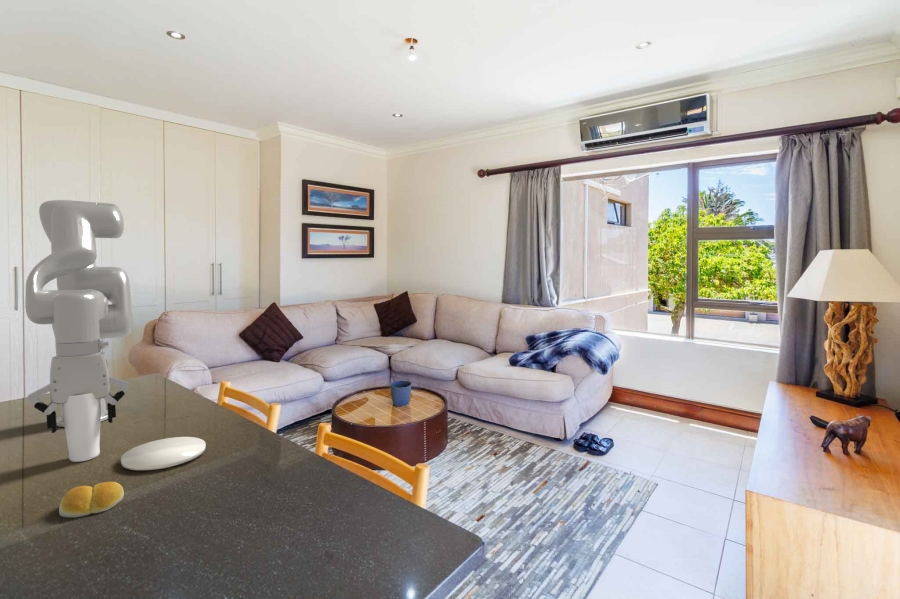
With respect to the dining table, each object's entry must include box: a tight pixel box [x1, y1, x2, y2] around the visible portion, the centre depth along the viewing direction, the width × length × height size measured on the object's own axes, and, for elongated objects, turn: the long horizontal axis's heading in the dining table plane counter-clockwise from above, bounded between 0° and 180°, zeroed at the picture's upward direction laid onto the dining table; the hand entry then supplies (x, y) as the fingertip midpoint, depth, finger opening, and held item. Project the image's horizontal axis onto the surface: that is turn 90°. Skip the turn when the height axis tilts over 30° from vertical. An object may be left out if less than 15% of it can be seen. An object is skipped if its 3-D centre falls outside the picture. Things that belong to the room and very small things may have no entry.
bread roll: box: [58, 481, 125, 518], centre depth 81 cm, size 8×9×4 cm
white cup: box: [60, 393, 102, 463], centre depth 101 cm, size 7×7×15 cm
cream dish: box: [120, 436, 207, 471], centre depth 102 cm, size 16×16×2 cm
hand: (83, 425), depth 100 cm, fingers open, 9 cm apart
